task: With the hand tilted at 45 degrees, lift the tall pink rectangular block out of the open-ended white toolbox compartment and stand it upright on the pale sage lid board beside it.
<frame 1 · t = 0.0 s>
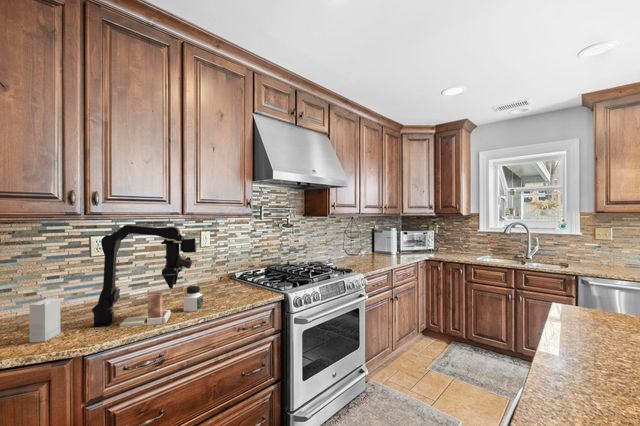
hand: (173, 286, 144), 15 cm above the countertop, tool pointing down, fingers open, 9 cm apart
lid board: (134, 322, 139), on the countertop
toolbox compartment: (155, 320, 141), on the countertop
pink rectangular block: (155, 307, 141), in the toolbox compartment
skincare box: (45, 339, 121), on the countertop
medicine bottle: (193, 309, 157), on the countertop
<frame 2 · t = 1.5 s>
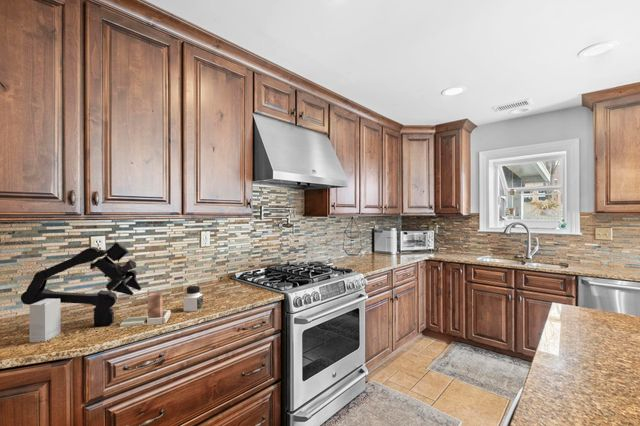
hand: (136, 292, 139), 13 cm above the countertop, tool tilted 45°, fingers open, 9 cm apart
nothing on the countertop moved.
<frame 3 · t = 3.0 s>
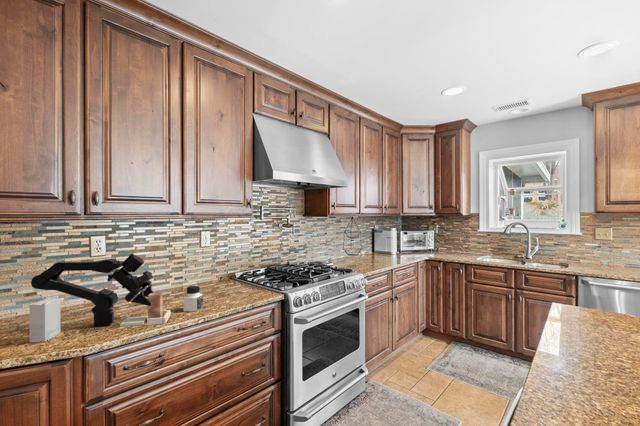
hand: (153, 302, 141), 8 cm above the countertop, tool tilted 45°, fingers open, 9 cm apart
nothing on the countertop moved.
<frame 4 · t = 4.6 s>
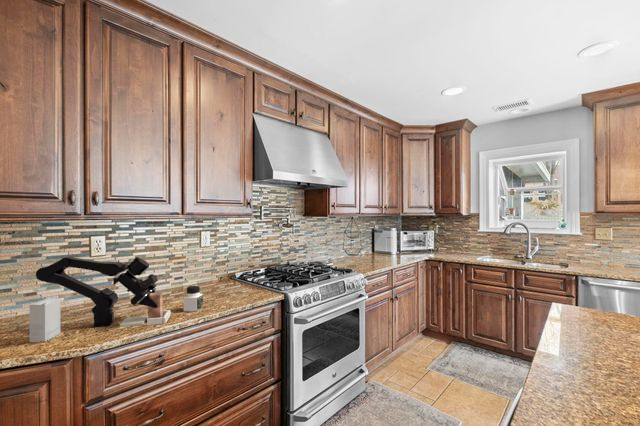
hand: (158, 305, 142), 7 cm above the countertop, tool tilted 45°, fingers closed on pink rectangular block, 5 cm apart
pink rectangular block: (155, 307, 141), in the toolbox compartment, touching gripper
everything else where it was.
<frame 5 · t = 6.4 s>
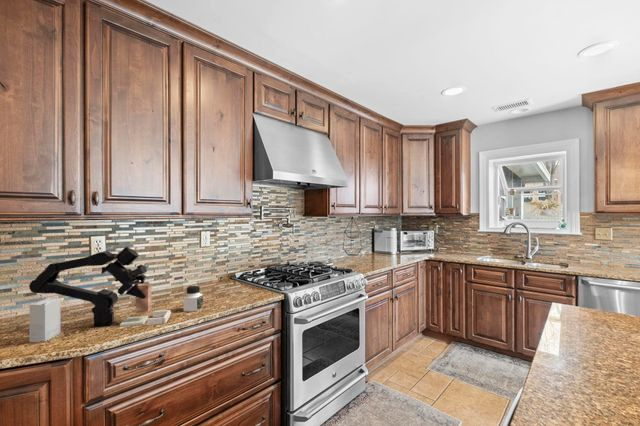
hand: (146, 296, 140), 11 cm above the countertop, tool tilted 45°, fingers closed on pink rectangular block, 5 cm apart
pink rectangular block: (143, 297, 140), point 11 cm above the countertop, touching gripper
everything else where it was.
when the fingers open (9 cm above the countertop, at t = 8.2 s): pink rectangular block stays where it is, resting on lid board.
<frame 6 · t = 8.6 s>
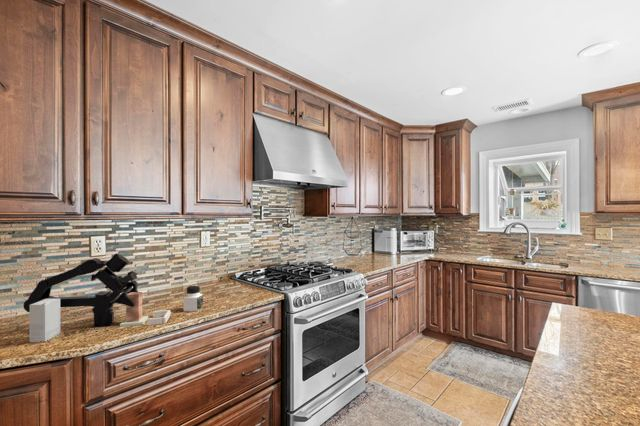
hand: (137, 303, 139), 9 cm above the countertop, tool tilted 45°, fingers open, 9 cm apart
pink rectangular block: (134, 306, 139), on the lid board, point 7 cm above the countertop
everything else where it was.
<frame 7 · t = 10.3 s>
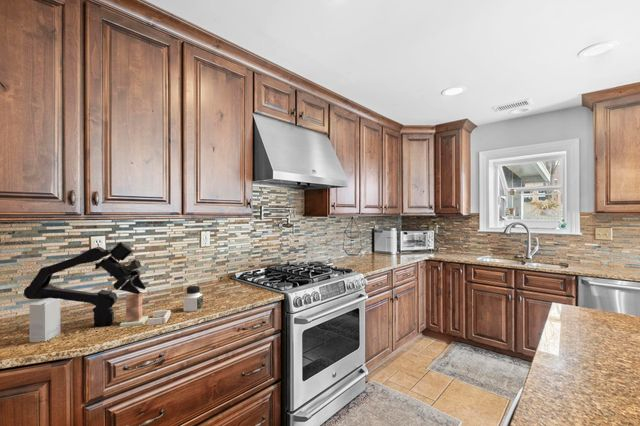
hand: (142, 290, 141), 14 cm above the countertop, tool tilted 45°, fingers open, 9 cm apart
nothing on the countertop moved.
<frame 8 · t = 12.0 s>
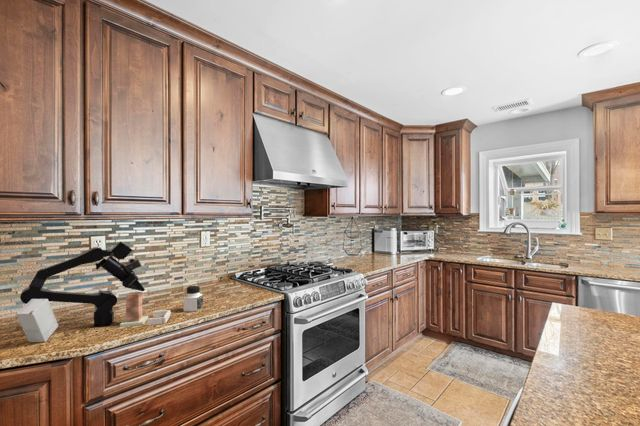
hand: (142, 288, 146), 14 cm above the countertop, tool tilted 45°, fingers open, 9 cm apart
skincare box: (44, 335, 121), point 1 cm above the countertop, touching arm
everything else where it was.
at the end: pink rectangular block inside the target area on the lid board (0.0 cm from its centre), point 7.0 cm above the lid board's base; pink rectangular block tilted 0°; the gripper is holding nothing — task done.
